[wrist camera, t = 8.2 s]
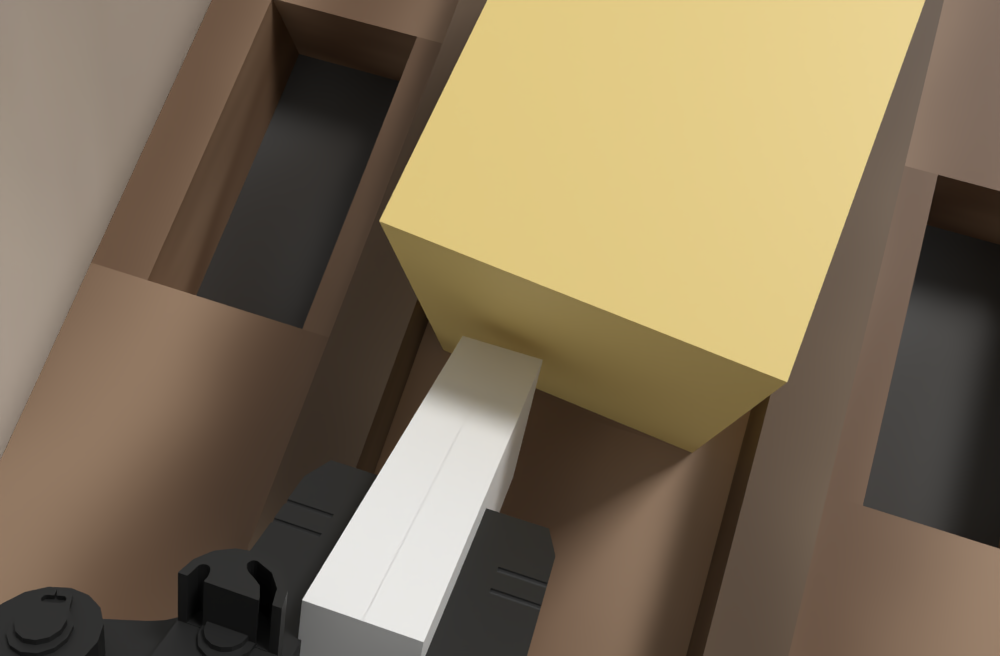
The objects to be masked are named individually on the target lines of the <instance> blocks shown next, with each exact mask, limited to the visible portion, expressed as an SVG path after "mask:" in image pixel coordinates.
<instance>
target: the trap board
mask: <svg viewBox="0 0 1000 656" xmlns="http://www.w3.org/2000/svg"><path fill="white" fill-rule="evenodd" d="M486 2H487V0H212V1H211V3H210V6H209V8H208V10H207V12H206V14H205V16H204V19H203V21H202V23H201V25H200V27H199V29H198V32H197V34H196V36H195V38H194V40H193V43H192V45H191V47H190V49H189V51H188V53H187V56H186V58H185V60H184V62H183V64H182V66H181V69H180V71H179V73H178V75H177V77H176V79H175V82H174V84H173V86H172V88H171V90H170V93H169V95H168V97H167V99H166V101H165V103H164V106H163V108H162V110H161V112H160V114H159V116H158V119H157V121H156V123H155V125H154V127H153V129H152V132H151V134H150V136H149V138H148V140H147V143H146V145H145V147H144V149H143V151H142V153H141V156H140V158H139V160H138V162H137V164H136V166H135V169H134V171H133V173H132V175H131V177H130V179H129V182H128V184H127V186H126V188H125V190H124V193H123V195H122V197H121V199H120V201H119V203H118V206H117V208H116V210H115V212H114V214H113V216H112V219H111V221H110V223H109V225H108V227H107V229H106V232H105V234H104V236H103V238H102V240H101V243H100V245H99V247H98V249H97V251H96V253H95V256H94V258H93V260H92V262H91V264H90V266H89V269H88V271H87V273H86V275H85V277H84V279H83V282H82V284H81V286H80V288H79V290H78V292H77V295H76V297H75V299H74V301H73V303H72V306H71V308H70V310H69V312H68V314H67V316H66V319H65V321H64V323H63V325H62V327H61V329H60V332H59V334H58V336H57V338H56V340H55V342H54V345H53V347H52V349H51V351H50V353H49V356H48V358H47V360H46V362H45V364H44V366H43V369H42V371H41V373H40V375H39V377H38V379H37V382H36V384H35V386H34V388H33V390H32V392H31V395H30V397H29V399H28V401H27V403H26V406H25V408H24V410H23V412H22V414H21V416H20V419H19V421H18V423H17V425H16V427H15V429H14V432H13V434H12V436H11V438H10V440H9V442H8V445H7V447H6V449H5V451H4V453H3V456H2V458H1V460H0V605H1V604H2V603H4V602H6V601H8V600H10V599H12V598H14V597H16V596H18V595H20V594H22V593H24V592H26V591H31V590H36V589H40V588H45V587H66V588H73V589H75V590H78V591H80V592H83V593H85V594H88V595H89V596H90V597H91V598H92V599H93V600H94V601H95V602H96V603H97V604H98V605H99V606H100V607H101V612H102V618H103V619H119V620H140V621H156V620H168V619H172V618H177V617H178V572H179V571H180V570H181V569H182V568H183V567H185V566H186V565H187V564H188V563H189V562H190V561H192V560H193V559H195V558H197V557H199V556H202V555H204V554H207V553H209V552H212V551H215V550H224V549H233V548H237V549H243V550H249V551H250V550H251V549H252V548H253V546H254V545H255V543H256V542H257V541H258V539H259V538H260V537H261V535H262V534H263V532H264V531H265V530H266V528H267V527H268V525H269V524H270V523H272V522H273V520H274V517H275V516H276V514H277V513H278V512H279V510H280V509H281V508H282V506H283V505H284V503H285V504H286V503H287V500H288V498H289V496H290V495H291V494H292V492H293V491H294V490H295V488H296V487H297V485H298V484H299V483H300V481H301V480H302V479H303V477H304V476H305V475H307V474H309V473H310V472H312V471H314V470H315V469H317V468H319V467H320V466H322V465H324V464H325V463H327V462H329V461H330V460H332V461H335V462H338V463H341V464H345V465H348V466H351V467H354V468H357V469H360V470H363V471H366V472H369V473H372V474H375V475H378V474H379V473H380V471H381V469H382V468H383V466H384V464H385V463H386V461H387V459H388V458H389V456H390V455H391V453H392V451H393V450H394V448H395V446H396V445H397V443H398V441H399V440H400V438H401V436H402V435H403V433H404V431H405V430H406V428H407V427H408V425H409V423H410V422H411V420H412V418H413V417H414V415H415V413H416V412H417V410H418V408H419V407H420V405H421V403H422V402H423V400H424V399H425V397H426V395H427V394H428V392H429V390H430V389H431V387H432V385H433V384H434V382H435V380H436V379H437V377H438V375H439V374H440V372H441V371H442V369H443V367H444V366H445V364H446V362H447V361H448V359H449V357H450V356H451V354H452V353H449V352H447V351H445V350H443V348H442V346H441V344H440V342H439V340H438V338H437V336H436V334H435V332H434V330H433V328H432V326H431V324H430V322H429V320H428V318H427V316H426V314H425V312H424V310H423V308H422V306H421V304H420V302H419V300H418V298H417V296H416V294H415V292H414V290H413V288H412V286H411V284H410V282H409V280H408V278H407V276H406V274H405V272H404V270H403V268H402V266H401V264H400V262H399V260H398V258H397V256H396V254H395V252H394V250H393V248H392V246H391V244H390V242H389V240H388V238H387V236H386V234H385V232H384V230H383V228H382V226H381V224H380V222H379V221H380V218H381V216H382V214H383V212H384V210H385V208H386V206H387V204H388V202H389V200H390V198H391V196H392V194H393V192H394V190H395V188H396V186H397V184H398V182H399V180H400V178H401V176H402V174H403V171H404V169H405V167H406V165H407V163H408V161H409V159H410V157H411V155H412V153H413V151H414V149H415V147H416V145H417V143H418V141H419V139H420V137H421V135H422V133H423V131H424V129H425V127H426V125H427V122H428V120H429V118H430V116H431V114H432V112H433V110H434V108H435V106H436V104H437V102H438V100H439V98H440V96H441V94H442V92H443V90H444V88H445V86H446V84H447V82H448V80H449V78H450V75H451V73H452V71H453V69H454V67H455V65H456V63H457V61H458V59H459V57H460V55H461V53H462V51H463V49H464V47H465V45H466V43H467V41H468V39H469V37H470V35H471V33H472V31H473V28H474V26H475V24H476V22H477V20H478V18H479V16H480V14H481V12H482V10H483V8H484V6H485V4H486ZM499 513H503V514H506V515H509V516H512V517H515V518H518V519H521V520H524V521H527V522H530V523H533V524H537V525H540V526H543V527H546V528H549V531H550V535H551V539H552V543H553V548H554V552H555V560H554V563H553V567H552V570H551V574H550V577H549V581H548V584H547V588H546V591H545V595H544V598H543V602H542V605H541V609H540V612H539V616H538V619H537V623H536V626H535V630H534V633H533V637H532V640H531V644H530V647H529V651H528V654H527V656H1000V0H925V3H924V5H923V8H922V11H921V14H920V16H919V19H918V22H917V25H916V28H915V30H914V33H913V36H912V39H911V41H910V44H909V47H908V50H907V52H906V55H905V58H904V61H903V63H902V66H901V69H900V72H899V75H898V77H897V80H896V83H895V86H894V88H893V91H892V94H891V97H890V99H889V102H888V105H887V108H886V110H885V113H884V116H883V119H882V122H881V124H880V127H879V130H878V133H877V135H876V138H875V141H874V144H873V146H872V149H871V152H870V155H869V157H868V160H867V163H866V166H865V169H864V171H863V174H862V177H861V180H860V182H859V185H858V188H857V191H856V193H855V196H854V199H853V202H852V204H851V207H850V210H849V213H848V216H847V218H846V221H845V224H844V227H843V229H842V232H841V235H840V238H839V240H838V243H837V246H836V249H835V252H834V254H833V257H832V260H831V263H830V265H829V268H828V271H827V274H826V276H825V279H824V282H823V285H822V287H821V290H820V293H819V296H818V299H817V301H816V304H815V307H814V310H813V312H812V315H811V318H810V321H809V323H808V326H807V329H806V332H805V334H804V337H803V340H802V343H801V346H800V348H799V351H798V354H797V357H796V359H795V362H794V365H793V368H792V370H791V373H790V376H789V379H788V381H787V383H786V384H784V385H783V386H781V387H780V388H779V389H777V390H776V391H775V392H773V393H772V394H771V395H769V396H768V397H767V398H765V399H764V400H763V401H761V402H760V403H759V404H757V405H756V406H755V407H753V408H752V409H751V410H749V411H748V412H747V413H745V414H744V415H743V416H741V417H740V418H739V419H737V420H736V421H735V422H733V423H732V424H731V425H729V426H728V427H727V428H725V429H724V430H723V431H721V432H720V433H718V434H717V435H716V436H714V437H713V438H712V439H710V440H709V441H708V442H706V443H705V444H704V445H702V446H701V447H700V448H698V449H697V450H696V451H694V452H693V453H691V452H689V451H686V450H684V449H681V448H679V447H677V446H674V445H672V444H669V443H667V442H665V441H662V440H660V439H657V438H655V437H652V436H650V435H648V434H645V433H643V432H640V431H638V430H636V429H633V428H631V427H628V426H626V425H623V424H621V423H619V422H616V421H614V420H611V419H609V418H607V417H604V416H602V415H599V414H597V413H594V412H592V411H590V410H587V409H585V408H582V407H580V406H577V405H575V404H573V403H570V402H568V401H565V400H563V399H561V398H558V397H556V396H553V395H551V394H548V393H546V392H544V391H541V390H539V389H535V393H534V396H533V400H532V404H531V408H530V412H529V416H528V420H527V424H526V428H525V432H524V436H523V440H522V444H521V448H520V452H519V456H518V460H517V464H516V468H515V472H514V476H513V479H512V481H511V484H510V486H509V489H508V491H507V494H506V497H505V499H504V502H503V504H502V507H501V509H500V512H499Z"/></svg>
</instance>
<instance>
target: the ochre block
mask: <svg viewBox="0 0 1000 656" xmlns="http://www.w3.org/2000/svg"><path fill="white" fill-rule="evenodd" d="M924 3H925V0H487V2H486V4H485V6H484V8H483V10H482V12H481V14H480V16H479V18H478V20H477V22H476V24H475V26H474V28H473V31H472V33H471V35H470V37H469V39H468V41H467V43H466V45H465V47H464V49H463V51H462V53H461V55H460V57H459V59H458V61H457V63H456V65H455V67H454V69H453V71H452V73H451V75H450V78H449V80H448V82H447V84H446V86H445V88H444V90H443V92H442V94H441V96H440V98H439V100H438V102H437V104H436V106H435V108H434V110H433V112H432V114H431V116H430V118H429V120H428V122H427V125H426V127H425V129H424V131H423V133H422V135H421V137H420V139H419V141H418V143H417V145H416V147H415V149H414V151H413V153H412V155H411V157H410V159H409V161H408V163H407V165H406V167H405V169H404V171H403V174H402V176H401V178H400V180H399V182H398V184H397V186H396V188H395V190H394V192H393V194H392V196H391V198H390V200H389V202H388V204H387V206H386V208H385V210H384V212H383V214H382V216H381V218H380V221H379V222H380V224H381V226H382V228H383V230H384V232H385V234H386V236H387V238H388V240H389V242H390V244H391V246H392V248H393V250H394V252H395V254H396V256H397V258H398V260H399V262H400V264H401V266H402V268H403V270H404V272H405V274H406V276H407V278H408V280H409V282H410V284H411V286H412V288H413V290H414V292H415V294H416V296H417V298H418V300H419V302H420V304H421V306H422V308H423V310H424V312H425V314H426V316H427V318H428V320H429V322H430V324H431V326H432V328H433V330H434V332H435V334H436V336H437V338H438V340H439V342H440V344H441V346H442V348H443V350H445V351H447V352H449V353H452V352H453V351H454V349H455V348H456V346H457V344H458V343H459V341H460V339H461V338H462V336H465V337H469V338H472V339H475V340H479V341H482V342H485V343H489V344H492V345H495V346H499V347H502V348H505V349H509V350H512V351H515V352H519V353H522V354H525V355H529V356H532V357H535V358H539V359H542V360H543V361H542V365H541V369H540V373H539V377H538V381H537V385H536V389H539V390H541V391H544V392H546V393H548V394H551V395H553V396H556V397H558V398H561V399H563V400H565V401H568V402H570V403H573V404H575V405H577V406H580V407H582V408H585V409H587V410H590V411H592V412H594V413H597V414H599V415H602V416H604V417H607V418H609V419H611V420H614V421H616V422H619V423H621V424H623V425H626V426H628V427H631V428H633V429H636V430H638V431H640V432H643V433H645V434H648V435H650V436H652V437H655V438H657V439H660V440H662V441H665V442H667V443H669V444H672V445H674V446H677V447H679V448H681V449H684V450H686V451H689V452H691V453H693V452H694V451H696V450H697V449H698V448H700V447H701V446H702V445H704V444H705V443H706V442H708V441H709V440H710V439H712V438H713V437H714V436H716V435H717V434H718V433H720V432H721V431H723V430H724V429H725V428H727V427H728V426H729V425H731V424H732V423H733V422H735V421H736V420H737V419H739V418H740V417H741V416H743V415H744V414H745V413H747V412H748V411H749V410H751V409H752V408H753V407H755V406H756V405H757V404H759V403H760V402H761V401H763V400H764V399H765V398H767V397H768V396H769V395H771V394H772V393H773V392H775V391H776V390H777V389H779V388H780V387H781V386H783V385H784V384H786V383H787V381H788V379H789V376H790V373H791V370H792V368H793V365H794V362H795V359H796V357H797V354H798V351H799V348H800V346H801V343H802V340H803V337H804V334H805V332H806V329H807V326H808V323H809V321H810V318H811V315H812V312H813V310H814V307H815V304H816V301H817V299H818V296H819V293H820V290H821V287H822V285H823V282H824V279H825V276H826V274H827V271H828V268H829V265H830V263H831V260H832V257H833V254H834V252H835V249H836V246H837V243H838V240H839V238H840V235H841V232H842V229H843V227H844V224H845V221H846V218H847V216H848V213H849V210H850V207H851V204H852V202H853V199H854V196H855V193H856V191H857V188H858V185H859V182H860V180H861V177H862V174H863V171H864V169H865V166H866V163H867V160H868V157H869V155H870V152H871V149H872V146H873V144H874V141H875V138H876V135H877V133H878V130H879V127H880V124H881V122H882V119H883V116H884V113H885V110H886V108H887V105H888V102H889V99H890V97H891V94H892V91H893V88H894V86H895V83H896V80H897V77H898V75H899V72H900V69H901V66H902V63H903V61H904V58H905V55H906V52H907V50H908V47H909V44H910V41H911V39H912V36H913V33H914V30H915V28H916V25H917V22H918V19H919V16H920V14H921V11H922V8H923V5H924Z"/></svg>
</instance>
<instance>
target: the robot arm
mask: <svg viewBox="0 0 1000 656" xmlns="http://www.w3.org/2000/svg"><path fill="white" fill-rule="evenodd" d="M542 361H543V360H542V359H539V358H535V357H532V356H529V355H525V354H522V353H519V352H515V351H512V350H509V349H505V348H502V347H499V346H495V345H492V344H489V343H485V342H482V341H479V340H475V339H472V338H469V337H465V336H462V338H461V339H460V341H459V343H458V344H457V346H456V348H455V349H454V351H453V352H452V354H451V356H450V357H449V359H448V361H447V362H446V364H445V366H444V367H443V369H442V371H441V372H440V374H439V375H438V377H437V379H436V380H435V382H434V384H433V385H432V387H431V389H430V390H429V392H428V394H427V395H426V397H425V399H424V400H423V402H422V403H421V405H420V407H419V408H418V410H417V412H416V413H415V415H414V417H413V418H412V420H411V422H410V423H409V425H408V427H407V428H406V430H405V431H404V433H403V435H402V436H401V438H400V440H399V441H398V443H397V445H396V446H395V448H394V450H393V451H392V453H391V455H390V456H389V458H388V459H387V461H386V463H385V464H384V466H383V468H382V469H381V471H380V473H379V474H378V475H375V474H372V473H369V472H366V471H363V470H360V469H357V468H354V467H351V466H348V465H345V464H341V463H338V462H335V461H332V460H330V461H329V462H327V463H325V464H324V465H322V466H320V467H319V468H317V469H315V470H314V471H312V472H310V473H309V474H307V475H305V476H304V477H303V479H302V480H301V481H300V483H299V484H298V485H297V487H296V488H295V490H294V491H293V492H292V494H291V495H290V496H289V498H288V500H287V503H286V504H285V503H284V505H283V506H282V508H281V509H280V510H279V512H278V513H277V514H276V516H275V517H274V520H273V522H272V523H270V524H269V525H268V527H267V528H266V530H265V531H264V532H263V534H262V535H261V537H260V538H259V539H258V541H257V542H256V543H255V545H254V546H253V548H252V549H251V550H250V551H249V550H243V549H237V548H233V549H224V550H215V551H212V552H209V553H207V554H204V555H202V556H199V557H197V558H195V559H193V560H192V561H190V562H189V563H188V564H187V565H186V566H185V567H183V568H182V569H181V570H180V571H179V572H178V617H177V618H172V619H168V620H156V621H140V620H119V619H103V618H102V612H101V607H100V606H99V605H98V604H97V603H96V602H95V601H94V600H93V599H92V598H91V597H90V596H89V595H88V594H85V593H83V592H80V591H78V590H75V589H73V588H66V587H45V588H40V589H36V590H31V591H26V592H24V593H22V594H20V595H18V596H16V597H14V598H12V599H10V600H8V601H6V602H4V603H2V604H1V605H0V656H527V654H528V651H529V647H530V644H531V640H532V637H533V633H534V630H535V626H536V623H537V619H538V616H539V612H540V609H541V605H542V602H543V598H544V595H545V591H546V588H547V584H548V581H549V577H550V574H551V570H552V567H553V563H554V560H555V552H554V548H553V543H552V539H551V535H550V531H549V528H546V527H543V526H540V525H537V524H533V523H530V522H527V521H524V520H521V519H518V518H515V517H512V516H509V515H506V514H503V513H499V512H500V509H501V507H502V504H503V502H504V499H505V497H506V494H507V491H508V489H509V486H510V484H511V481H512V479H513V476H514V472H515V468H516V464H517V460H518V456H519V452H520V448H521V444H522V440H523V436H524V432H525V428H526V424H527V420H528V416H529V412H530V408H531V404H532V400H533V396H534V393H535V389H536V385H537V381H538V377H539V373H540V369H541V365H542Z"/></svg>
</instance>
